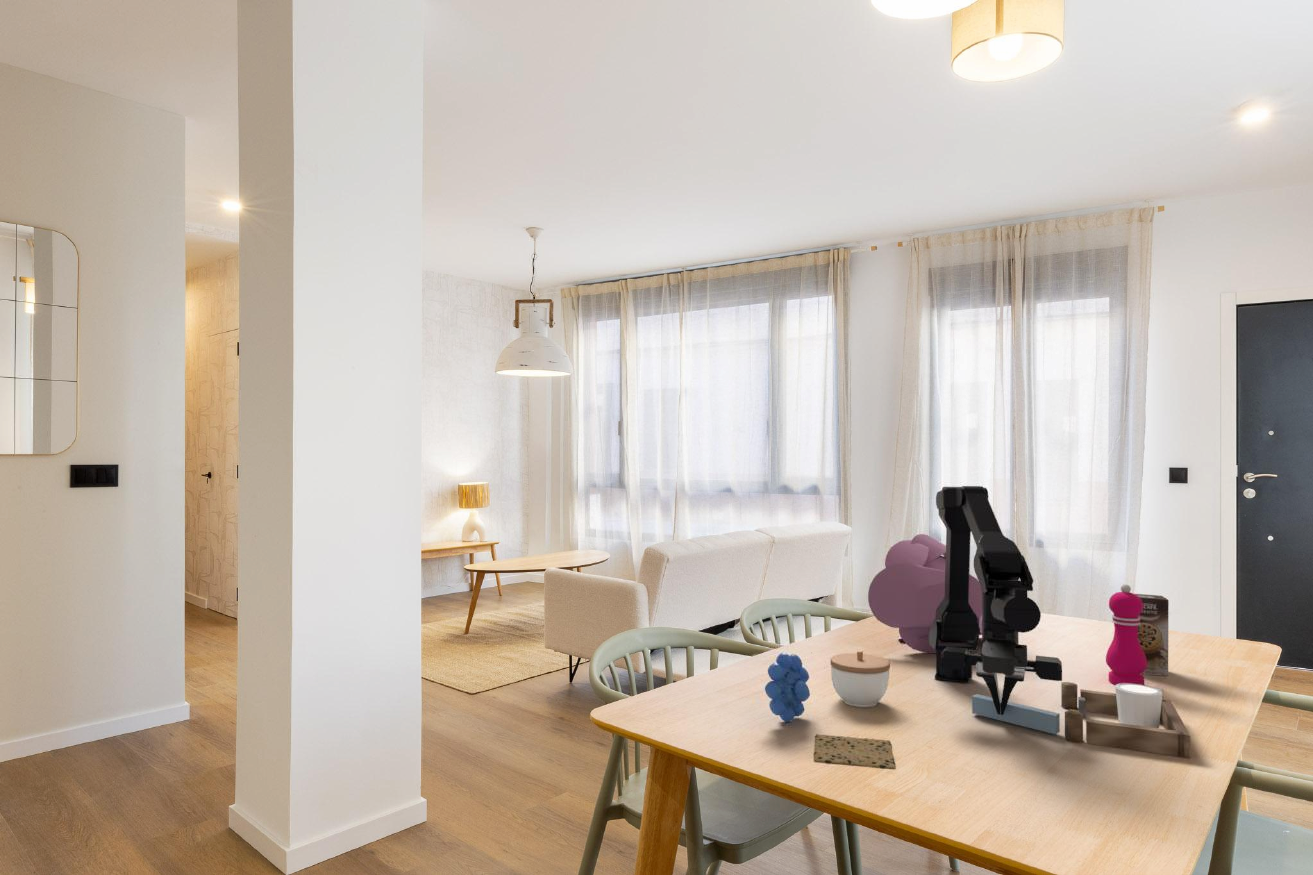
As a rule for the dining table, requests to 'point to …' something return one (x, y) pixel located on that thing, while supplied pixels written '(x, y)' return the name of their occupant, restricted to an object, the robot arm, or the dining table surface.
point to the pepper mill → (1126, 639)
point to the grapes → (787, 686)
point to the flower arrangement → (915, 590)
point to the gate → (1018, 714)
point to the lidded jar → (860, 678)
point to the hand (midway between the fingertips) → (1000, 714)
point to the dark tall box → (1154, 633)
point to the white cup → (1138, 704)
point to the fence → (1118, 734)
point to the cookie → (854, 751)
